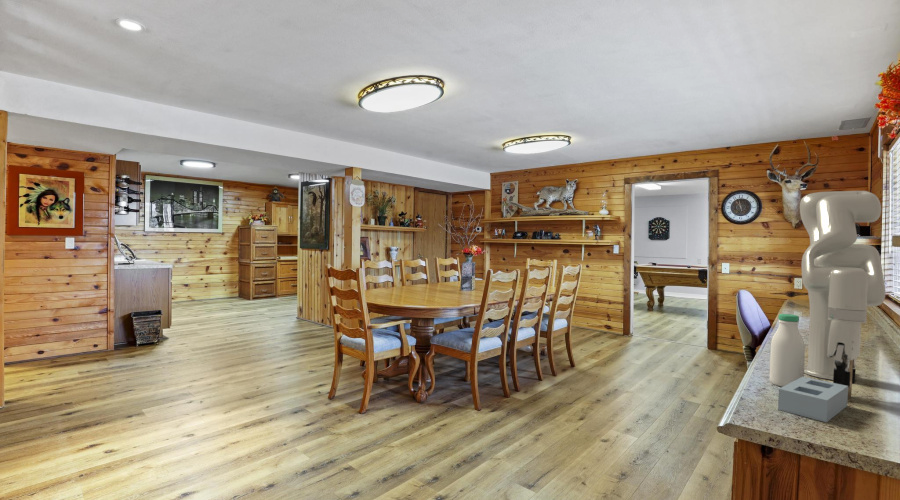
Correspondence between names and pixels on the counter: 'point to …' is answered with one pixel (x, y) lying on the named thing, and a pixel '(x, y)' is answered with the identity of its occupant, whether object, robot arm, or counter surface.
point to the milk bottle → (787, 352)
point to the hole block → (813, 398)
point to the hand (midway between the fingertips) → (844, 383)
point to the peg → (850, 377)
